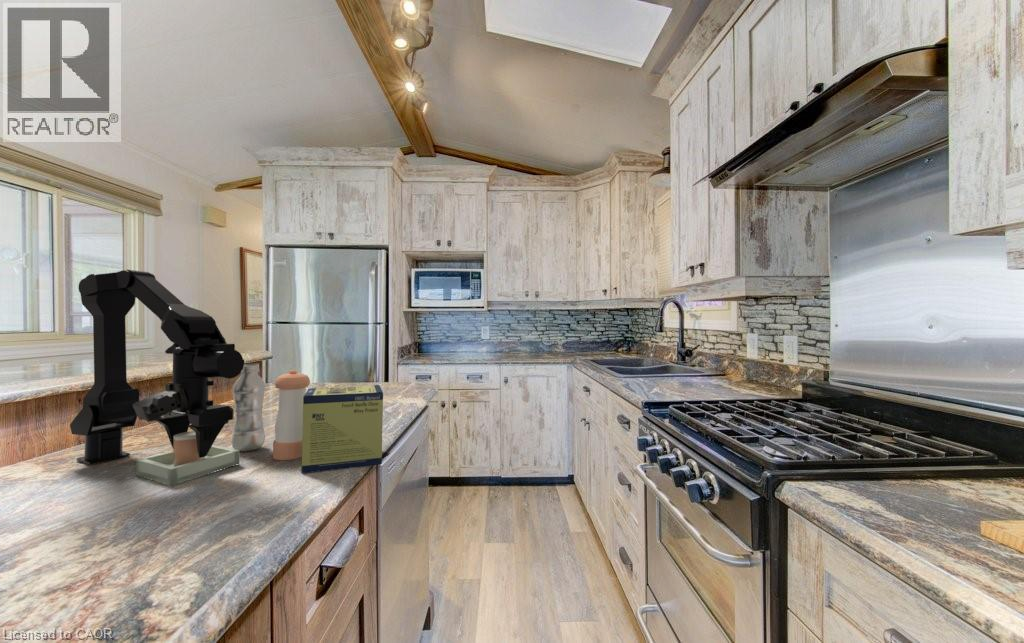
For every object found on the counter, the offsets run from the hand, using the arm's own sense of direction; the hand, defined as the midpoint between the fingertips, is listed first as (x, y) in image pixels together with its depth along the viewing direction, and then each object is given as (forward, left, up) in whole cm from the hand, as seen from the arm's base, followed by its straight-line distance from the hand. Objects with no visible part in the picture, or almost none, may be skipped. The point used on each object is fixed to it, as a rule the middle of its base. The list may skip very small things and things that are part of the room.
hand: (189, 453), depth 80 cm
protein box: (+24, +17, -4) cm, 29 cm away
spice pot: (0, 0, -2) cm, 2 cm away
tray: (0, 0, -3) cm, 3 cm away
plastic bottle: (-2, +13, -3) cm, 14 cm away
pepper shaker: (+10, +15, -3) cm, 18 cm away
